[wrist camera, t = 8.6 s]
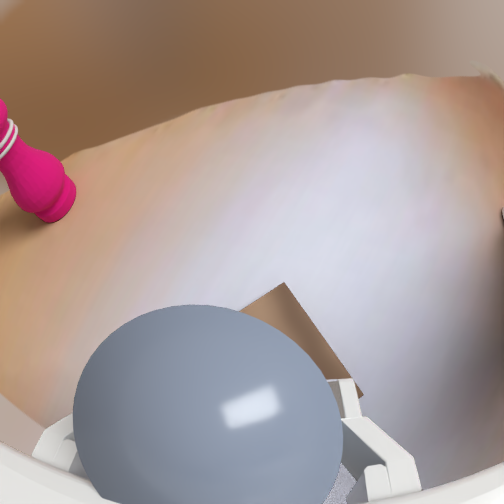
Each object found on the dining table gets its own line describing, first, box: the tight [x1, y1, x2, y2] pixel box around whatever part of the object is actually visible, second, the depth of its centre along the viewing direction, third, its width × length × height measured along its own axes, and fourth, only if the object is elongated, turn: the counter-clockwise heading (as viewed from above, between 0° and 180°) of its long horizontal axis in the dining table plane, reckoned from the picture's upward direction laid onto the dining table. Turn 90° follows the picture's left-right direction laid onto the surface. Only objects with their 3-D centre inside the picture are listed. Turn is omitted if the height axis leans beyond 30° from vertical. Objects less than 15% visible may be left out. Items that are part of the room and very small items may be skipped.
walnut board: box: [239, 283, 364, 399], centre depth 25 cm, size 14×12×2 cm
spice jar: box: [73, 305, 343, 504], centre depth 10 cm, size 5×5×11 cm
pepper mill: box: [0, 99, 76, 222], centre depth 24 cm, size 7×7×20 cm
